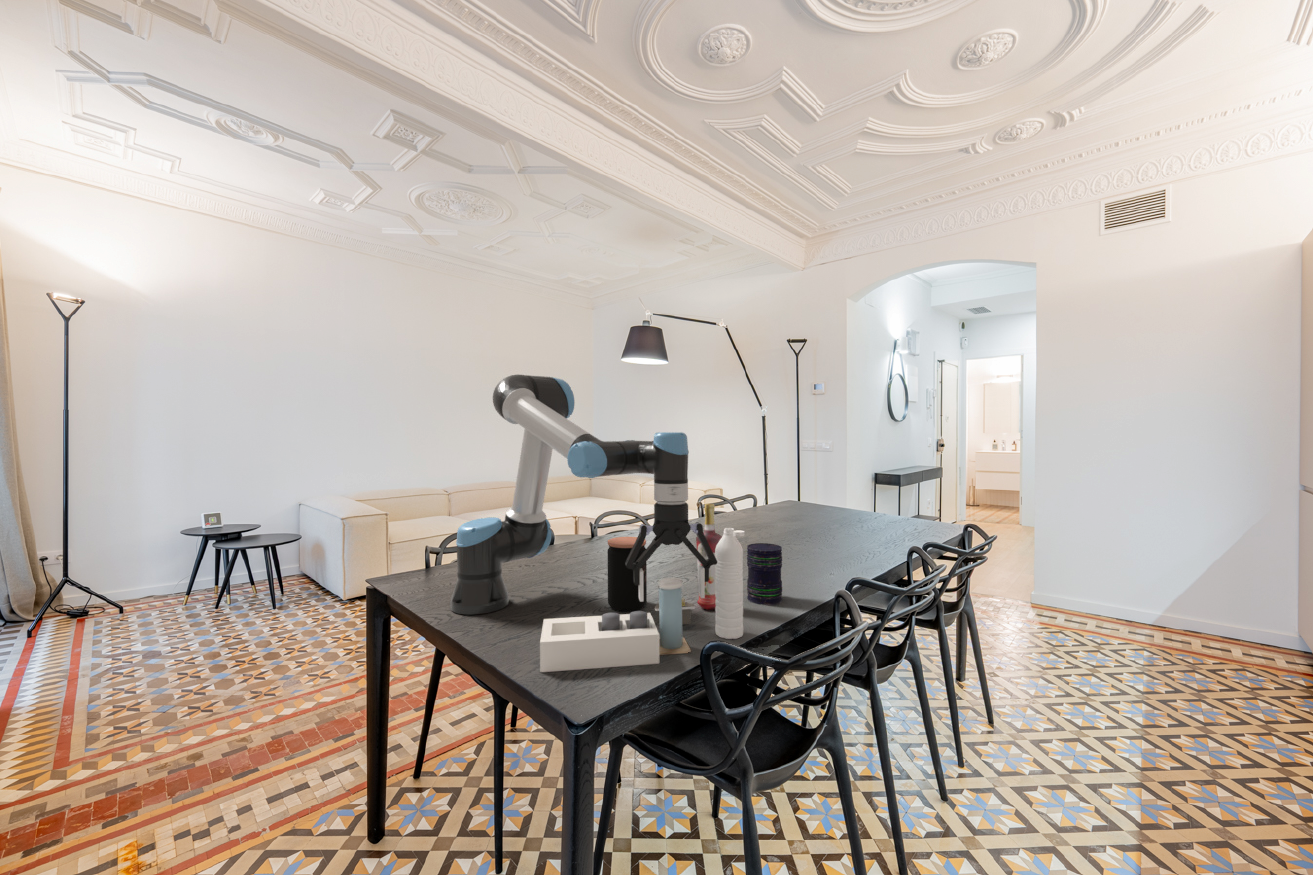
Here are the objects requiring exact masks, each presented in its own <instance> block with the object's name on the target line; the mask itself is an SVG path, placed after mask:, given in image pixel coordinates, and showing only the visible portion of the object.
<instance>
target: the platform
mask: <svg viewBox="0 0 1313 875" xmlns="http://www.w3.org/2000/svg"><path fill="white" fill-rule="evenodd" d="M695 609H696V605H695V603H690V602H687V601H686V599H685V598H684V597H683V596H682V625H691V624H692V622H691V621H692V620H691V618H692V617H691V614H692V613H691V610H695ZM654 610H655V611H656V612H659V603H657V604H656V605H655V606H654ZM658 626H659V627H660V616H659V615H658Z"/></svg>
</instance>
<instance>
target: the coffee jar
mask: <svg viewBox="0 0 1313 875" xmlns="http://www.w3.org/2000/svg"><path fill="white" fill-rule="evenodd" d="M637 537H638V536H617V537H612V538H610V539H608V540H607V546H608V548H607V604H608V606H609V608H610V609H611V610H614V611H617V612H623V613H624V612H625V613H627V612H630V613H631V612H634V611H641V610H642V609H644V607H645V605H646V604H647V600H648V599H647V598H648V597H647V596H648V594H647V593H648V591H647V587H648V586H647V584H648V583H647V577H648V576H647V575H648V574H647V573H648V572H647V568H648V567H647V562H646V563H645V564H644V565H643V566H642V570H643V588H644V601H643V602H640V600H639V585H636V586H635V584H634V570H632V569H628V568H627V567H626V564H625V562H626V560H627V558H628V556H629V554H630V552H631V550H632V548H633V546H634V543H635V541H636V539H637ZM646 545H647V540H646V538H645V540H644V542H643V544H642V546H641V549H640V551H639V553H638V555H637V557H636V559H635V561H634V563H635V562H636V561H637V560H638V558H639V557H640V556H641V555H642V554H643V552H644V551H645V550H646V549H647V547H646Z"/></svg>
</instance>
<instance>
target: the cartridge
mask: <svg viewBox="0 0 1313 875" xmlns="http://www.w3.org/2000/svg"><path fill="white" fill-rule="evenodd" d="M657 587H658V604H659V611H658V617H659V616H660V626H659V639H660V646H661V647H663V648H666V649H677V648H680V647H681V646H682V645H683V624H682V602H683V598H682V597H683V594H682V587H683V580H682V579H681V578H677V577H663V578H661V579H658V581H657Z"/></svg>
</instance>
